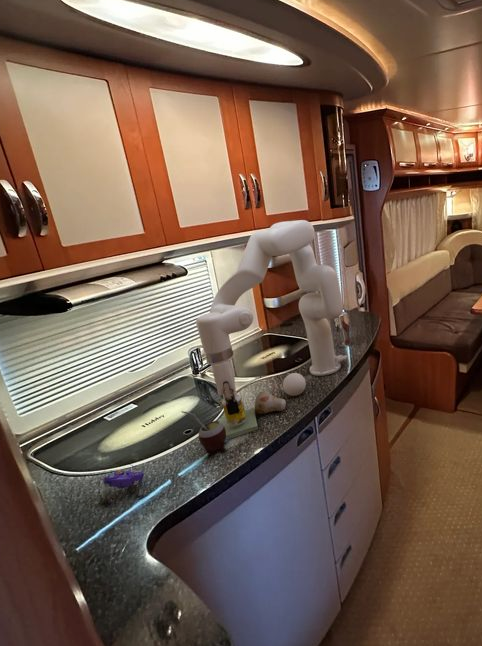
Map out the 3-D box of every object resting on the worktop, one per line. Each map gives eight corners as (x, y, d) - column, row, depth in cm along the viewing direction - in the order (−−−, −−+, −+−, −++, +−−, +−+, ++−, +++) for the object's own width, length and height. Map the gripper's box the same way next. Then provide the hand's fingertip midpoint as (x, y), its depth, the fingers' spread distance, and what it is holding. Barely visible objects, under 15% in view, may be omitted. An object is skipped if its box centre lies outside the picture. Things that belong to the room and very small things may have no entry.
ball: (281, 400, 130) (276, 379, 128) (290, 388, 138) (286, 369, 135) (302, 400, 129) (298, 379, 126) (310, 388, 136) (306, 368, 134)
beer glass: (338, 348, 170) (333, 317, 165) (336, 343, 176) (331, 313, 172) (353, 345, 171) (348, 314, 166) (351, 340, 177) (346, 310, 173)
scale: (254, 410, 126) (252, 402, 125) (258, 429, 115) (256, 421, 114) (220, 420, 122) (218, 412, 122) (220, 441, 111) (218, 433, 110)
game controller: (150, 457, 101) (143, 472, 92) (147, 487, 101) (140, 506, 92) (106, 460, 98) (94, 476, 88) (103, 491, 98) (91, 511, 88)
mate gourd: (234, 443, 109) (222, 398, 105) (215, 462, 102) (200, 414, 98) (215, 440, 112) (202, 396, 108) (194, 458, 105) (180, 411, 101)
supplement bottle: (241, 426, 113) (233, 397, 110) (224, 427, 114) (216, 398, 111) (249, 416, 118) (242, 387, 115) (233, 417, 119) (225, 388, 116)
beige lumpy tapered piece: (287, 415, 121) (265, 396, 117) (265, 426, 124) (244, 408, 120) (292, 398, 127) (272, 380, 123) (271, 409, 130) (251, 391, 126)
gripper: (206, 348, 116) (220, 399, 121) (204, 368, 100) (221, 426, 105) (231, 342, 118) (244, 393, 123) (233, 361, 103) (248, 418, 108)
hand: (233, 408), depth 114 cm, fingers closed on supplement bottle, 5 cm apart
